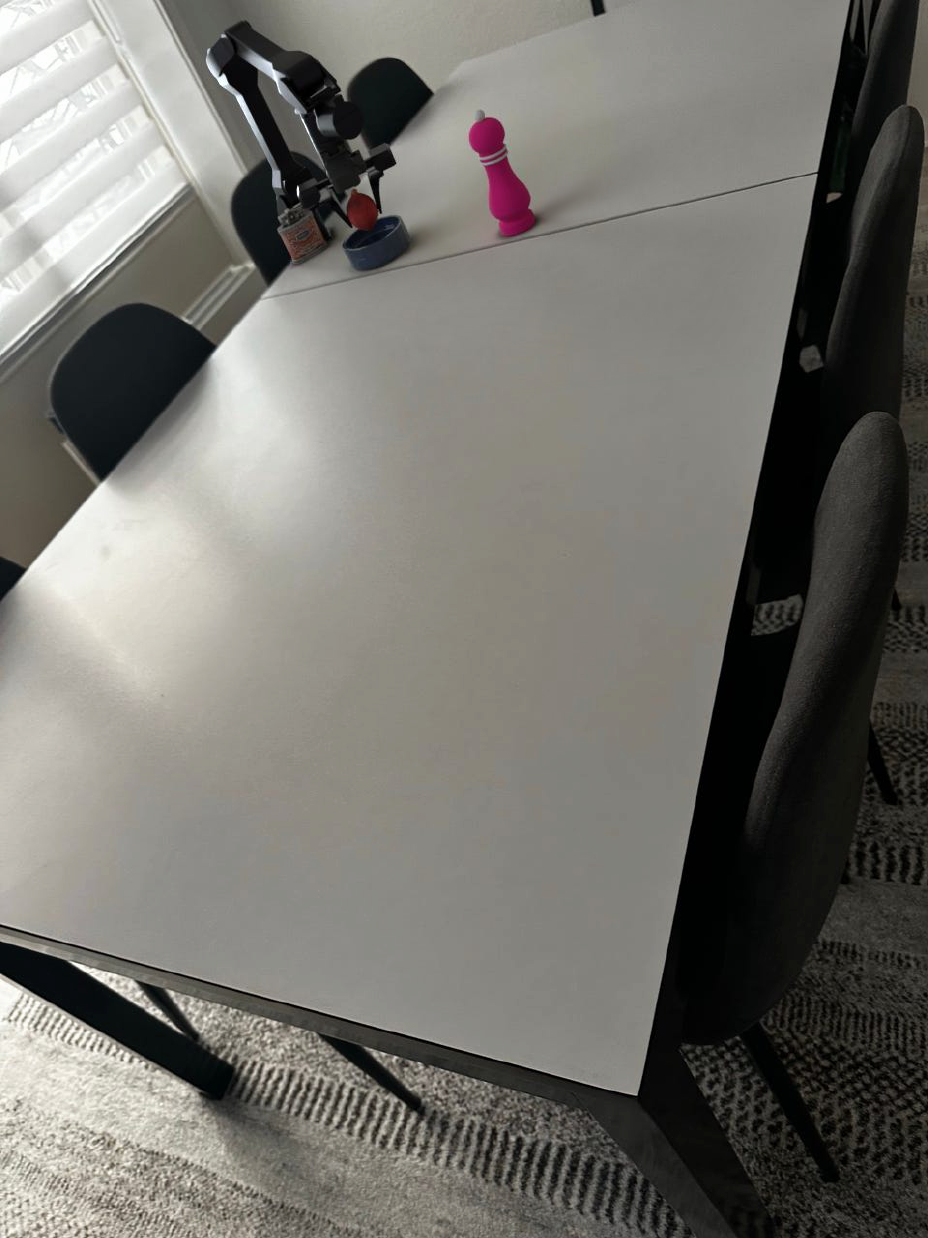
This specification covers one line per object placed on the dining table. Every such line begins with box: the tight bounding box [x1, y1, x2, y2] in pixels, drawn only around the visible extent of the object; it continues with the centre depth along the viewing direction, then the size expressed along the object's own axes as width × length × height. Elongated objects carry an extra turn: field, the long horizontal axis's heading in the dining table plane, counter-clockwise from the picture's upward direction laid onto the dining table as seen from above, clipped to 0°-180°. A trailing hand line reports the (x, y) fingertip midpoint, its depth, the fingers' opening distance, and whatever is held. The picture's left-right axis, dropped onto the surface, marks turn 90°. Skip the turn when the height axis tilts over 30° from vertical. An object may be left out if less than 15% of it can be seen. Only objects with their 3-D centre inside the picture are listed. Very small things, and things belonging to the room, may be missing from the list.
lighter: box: [277, 203, 328, 265], centre depth 190 cm, size 8×3×10 cm, turn 118°
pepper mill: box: [468, 109, 536, 237], centre depth 156 cm, size 7×7×20 cm
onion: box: [345, 188, 379, 231], centre depth 172 cm, size 6×6×8 cm
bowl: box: [341, 214, 412, 271], centre depth 177 cm, size 12×12×4 cm
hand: (366, 220), depth 174 cm, fingers closed on onion, 6 cm apart
